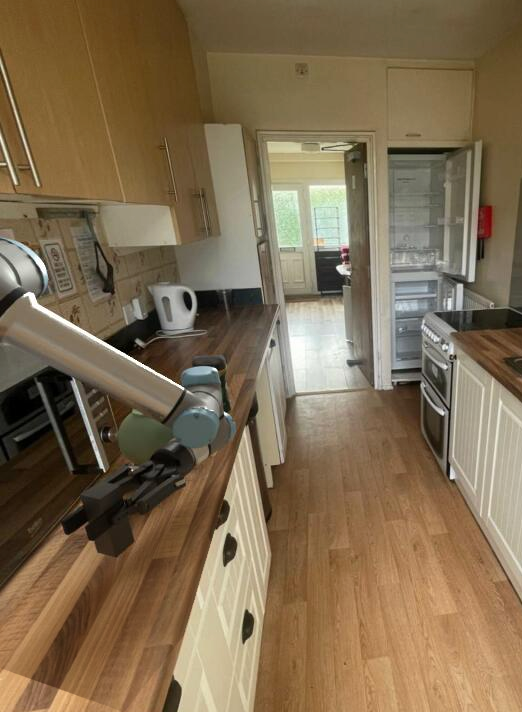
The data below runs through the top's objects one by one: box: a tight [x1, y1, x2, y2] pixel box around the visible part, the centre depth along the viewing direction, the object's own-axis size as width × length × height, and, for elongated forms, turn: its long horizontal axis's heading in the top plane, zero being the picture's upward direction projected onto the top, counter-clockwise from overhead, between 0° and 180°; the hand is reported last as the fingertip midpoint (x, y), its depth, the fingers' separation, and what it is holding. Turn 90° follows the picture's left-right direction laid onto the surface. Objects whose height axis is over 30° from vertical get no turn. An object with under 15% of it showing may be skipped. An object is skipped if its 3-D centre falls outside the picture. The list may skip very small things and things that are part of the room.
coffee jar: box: [191, 354, 232, 415], centre depth 130 cm, size 10×8×19 cm
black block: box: [79, 481, 135, 558], centre depth 72 cm, size 4×4×12 cm
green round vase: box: [117, 408, 175, 466], centre depth 99 cm, size 14×14×17 cm
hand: (76, 530), depth 66 cm, fingers closed on black block, 4 cm apart
